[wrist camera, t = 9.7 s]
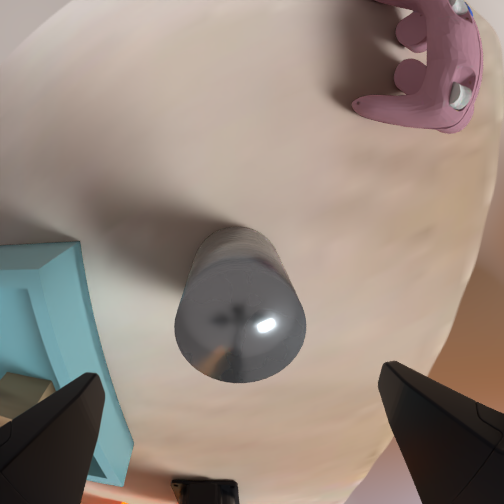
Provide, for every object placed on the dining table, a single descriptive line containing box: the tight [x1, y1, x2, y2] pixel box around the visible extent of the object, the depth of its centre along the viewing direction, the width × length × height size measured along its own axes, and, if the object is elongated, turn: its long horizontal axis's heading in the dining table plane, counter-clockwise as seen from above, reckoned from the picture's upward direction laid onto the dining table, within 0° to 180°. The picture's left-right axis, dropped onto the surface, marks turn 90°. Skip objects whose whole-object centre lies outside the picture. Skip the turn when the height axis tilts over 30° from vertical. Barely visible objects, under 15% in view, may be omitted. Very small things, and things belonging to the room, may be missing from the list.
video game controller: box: [352, 0, 483, 134], centre depth 13 cm, size 10×5×7 cm, turn 173°
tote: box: [0, 241, 134, 487], centre depth 17 cm, size 18×15×5 cm
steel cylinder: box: [174, 227, 306, 383], centre depth 15 cm, size 5×5×7 cm
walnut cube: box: [0, 372, 56, 427], centre depth 17 cm, size 5×5×5 cm
